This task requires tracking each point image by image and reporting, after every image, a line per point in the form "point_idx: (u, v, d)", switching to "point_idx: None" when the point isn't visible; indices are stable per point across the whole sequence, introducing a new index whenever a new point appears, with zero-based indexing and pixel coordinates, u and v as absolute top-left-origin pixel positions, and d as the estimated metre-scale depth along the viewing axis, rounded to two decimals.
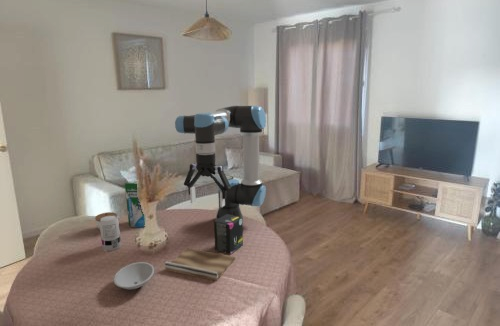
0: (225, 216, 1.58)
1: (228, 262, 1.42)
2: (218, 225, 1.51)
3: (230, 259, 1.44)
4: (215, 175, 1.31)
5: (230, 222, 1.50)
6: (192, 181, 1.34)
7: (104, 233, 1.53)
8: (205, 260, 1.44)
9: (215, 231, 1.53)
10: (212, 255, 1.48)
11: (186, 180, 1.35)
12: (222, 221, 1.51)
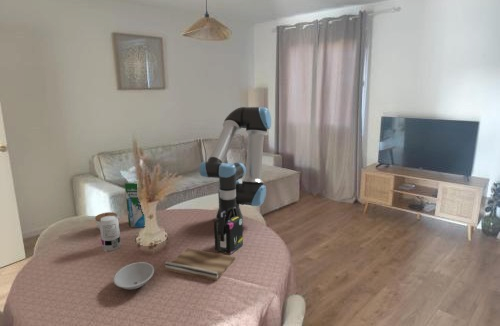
0: None
1: (228, 262, 1.42)
2: None
3: (230, 259, 1.44)
4: (224, 218, 1.50)
5: (230, 222, 1.50)
6: None
7: (104, 233, 1.53)
8: (205, 260, 1.44)
9: (215, 231, 1.53)
10: (212, 255, 1.48)
11: None
12: None
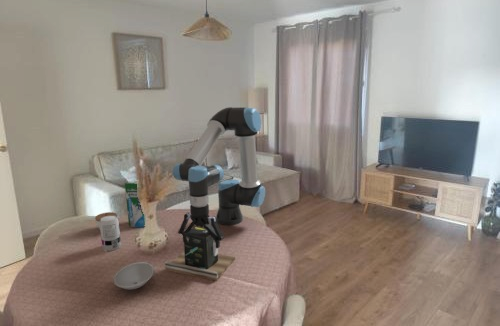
0: (191, 233, 1.37)
1: (228, 262, 1.42)
2: (208, 238, 1.35)
3: (230, 259, 1.44)
4: (209, 225, 1.36)
5: None
6: (186, 230, 1.39)
7: (104, 233, 1.53)
8: None
9: (205, 249, 1.34)
10: None
11: (181, 229, 1.40)
12: (206, 233, 1.36)
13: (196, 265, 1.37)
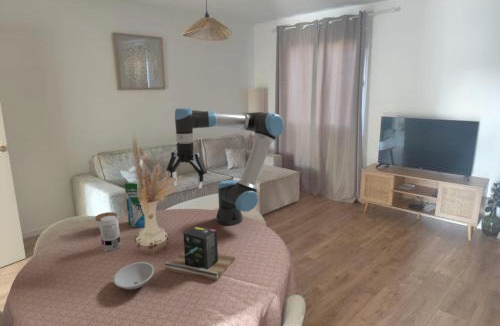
0: (191, 233, 1.37)
1: (228, 262, 1.42)
2: (208, 238, 1.35)
3: (230, 259, 1.44)
4: (193, 161, 1.52)
5: (210, 229, 1.40)
6: (174, 167, 1.55)
7: (104, 233, 1.53)
8: None
9: (205, 249, 1.34)
10: None
11: (168, 166, 1.56)
12: (206, 233, 1.36)
13: (196, 265, 1.37)
